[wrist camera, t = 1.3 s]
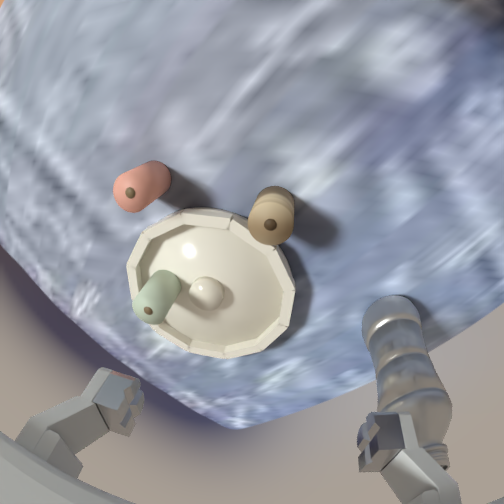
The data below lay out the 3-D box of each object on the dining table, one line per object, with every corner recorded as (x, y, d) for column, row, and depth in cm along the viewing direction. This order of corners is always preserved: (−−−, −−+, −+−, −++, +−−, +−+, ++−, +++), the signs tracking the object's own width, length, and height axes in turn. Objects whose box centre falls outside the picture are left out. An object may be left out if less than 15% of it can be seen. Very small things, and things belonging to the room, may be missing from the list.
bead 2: (150, 267, 32) (129, 292, 28) (180, 272, 32) (162, 299, 28) (153, 294, 34) (134, 321, 30) (182, 299, 34) (166, 328, 29)
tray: (130, 200, 30) (119, 207, 28) (305, 219, 28) (306, 227, 26) (146, 330, 38) (140, 340, 36) (281, 354, 37) (280, 367, 35)
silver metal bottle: (421, 311, 31) (476, 462, 14) (375, 341, 34) (401, 494, 16) (396, 276, 30) (459, 445, 12) (347, 310, 32) (366, 483, 15)
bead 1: (138, 160, 28) (111, 172, 24) (171, 161, 28) (147, 173, 23) (139, 194, 30) (114, 211, 25) (171, 196, 29) (149, 214, 25)
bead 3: (257, 183, 28) (249, 200, 23) (296, 188, 27) (296, 206, 23) (254, 220, 29) (245, 242, 25) (291, 224, 29) (290, 248, 24)
